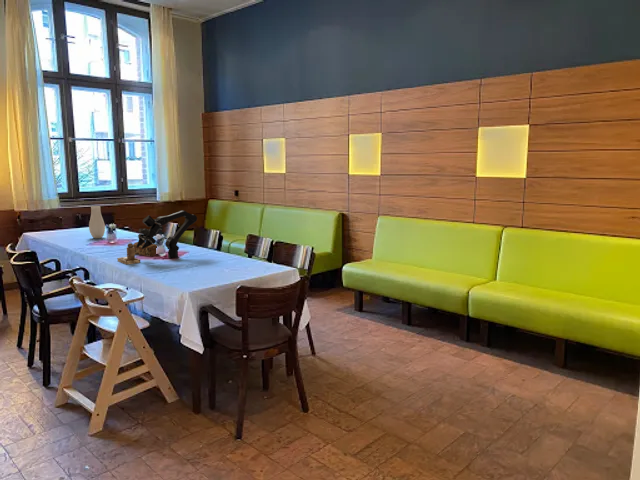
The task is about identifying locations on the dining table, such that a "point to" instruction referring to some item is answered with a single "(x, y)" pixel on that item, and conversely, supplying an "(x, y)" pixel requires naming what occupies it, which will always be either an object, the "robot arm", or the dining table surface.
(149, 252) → the bread
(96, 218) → the vase
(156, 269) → the dining table surface
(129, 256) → the pepper mill
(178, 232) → the robot arm
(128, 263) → the caddy
